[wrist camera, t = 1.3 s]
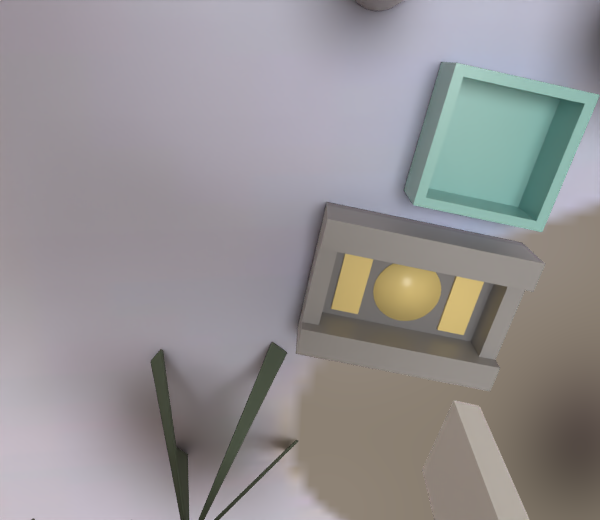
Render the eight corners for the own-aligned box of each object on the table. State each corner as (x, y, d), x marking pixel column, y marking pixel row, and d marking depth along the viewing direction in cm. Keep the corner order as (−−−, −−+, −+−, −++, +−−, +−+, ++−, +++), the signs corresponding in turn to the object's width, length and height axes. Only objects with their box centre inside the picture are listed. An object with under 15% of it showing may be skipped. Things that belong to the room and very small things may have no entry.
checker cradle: (326, 201, 34) (327, 219, 30) (522, 242, 34) (545, 263, 31) (297, 325, 38) (295, 353, 34) (474, 360, 38) (489, 391, 35)
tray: (441, 62, 30) (456, 62, 27) (569, 90, 30) (600, 95, 27) (403, 190, 33) (413, 204, 30) (520, 214, 34) (542, 232, 30)
